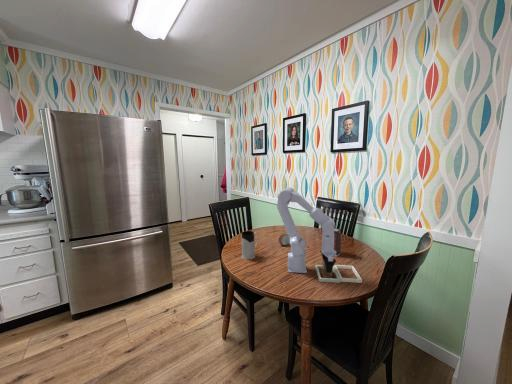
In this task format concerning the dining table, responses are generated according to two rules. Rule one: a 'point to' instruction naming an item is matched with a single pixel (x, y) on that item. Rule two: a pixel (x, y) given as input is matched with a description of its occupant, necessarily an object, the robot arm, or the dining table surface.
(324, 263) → the block
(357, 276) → the tray
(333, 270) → the pale green rectangular frame
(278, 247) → the dining table surface
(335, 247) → the supplement box
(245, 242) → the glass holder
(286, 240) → the tin
